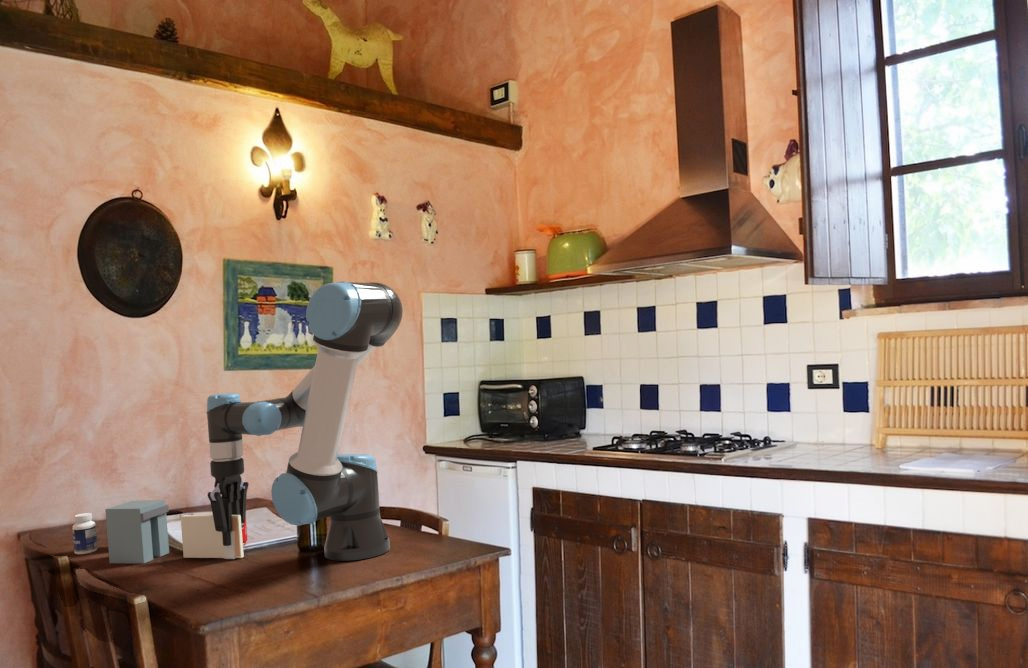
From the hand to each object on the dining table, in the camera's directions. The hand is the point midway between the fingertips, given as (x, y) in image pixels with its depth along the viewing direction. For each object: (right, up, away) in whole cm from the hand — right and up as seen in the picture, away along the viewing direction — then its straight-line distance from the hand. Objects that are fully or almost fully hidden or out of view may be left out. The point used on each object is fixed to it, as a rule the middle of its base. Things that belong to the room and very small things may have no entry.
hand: (232, 557), depth 196 cm
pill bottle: (-44, -4, +18) cm, 48 cm away
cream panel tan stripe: (-5, 0, +1) cm, 5 cm away
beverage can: (-3, -1, +13) cm, 14 cm away
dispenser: (-25, -2, +7) cm, 26 cm away
